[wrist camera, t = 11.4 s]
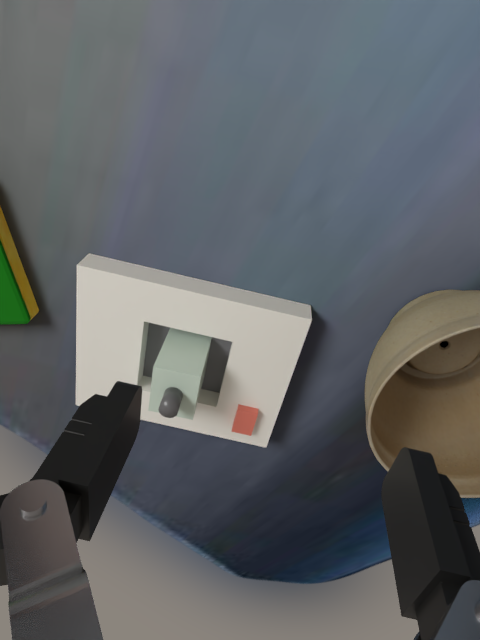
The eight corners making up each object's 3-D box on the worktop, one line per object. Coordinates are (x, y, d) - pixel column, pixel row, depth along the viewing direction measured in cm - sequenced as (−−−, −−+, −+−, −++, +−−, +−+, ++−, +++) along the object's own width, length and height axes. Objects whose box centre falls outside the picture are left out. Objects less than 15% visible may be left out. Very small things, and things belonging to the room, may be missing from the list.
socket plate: (310, 305, 38) (312, 324, 35) (267, 429, 46) (265, 453, 43) (88, 253, 37) (72, 269, 34) (85, 388, 46) (72, 410, 43)
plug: (211, 336, 40) (196, 393, 33) (204, 377, 43) (188, 437, 36) (170, 327, 40) (146, 382, 33) (164, 368, 43) (141, 427, 36)
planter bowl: (418, 427, 44) (453, 525, 35) (311, 333, 39) (319, 417, 30) (576, 337, 37) (673, 429, 28) (469, 209, 32) (543, 269, 23)
